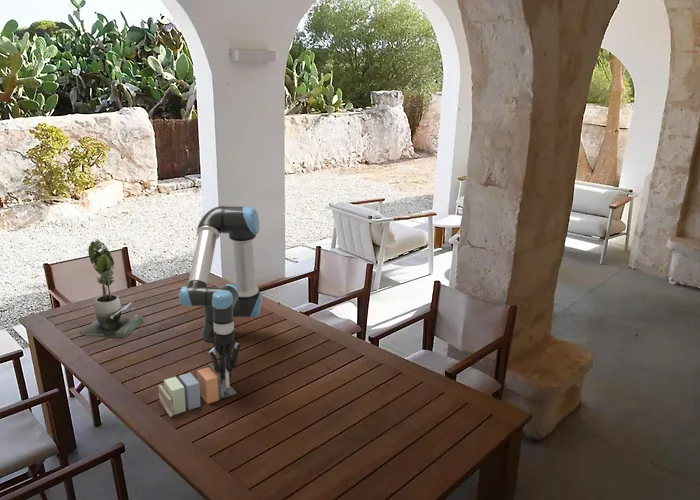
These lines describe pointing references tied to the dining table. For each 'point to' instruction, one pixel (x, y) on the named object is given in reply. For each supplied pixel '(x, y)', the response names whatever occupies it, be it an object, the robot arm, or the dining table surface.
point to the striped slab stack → (165, 400)
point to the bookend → (222, 389)
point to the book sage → (176, 394)
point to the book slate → (190, 390)
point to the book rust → (208, 385)
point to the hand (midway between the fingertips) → (226, 385)
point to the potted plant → (108, 300)
